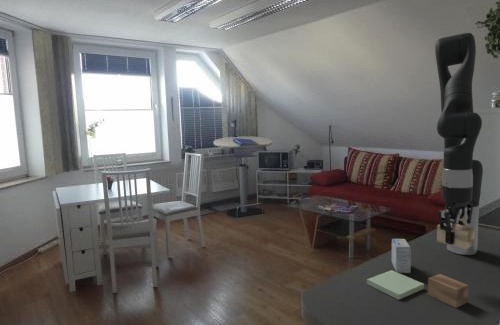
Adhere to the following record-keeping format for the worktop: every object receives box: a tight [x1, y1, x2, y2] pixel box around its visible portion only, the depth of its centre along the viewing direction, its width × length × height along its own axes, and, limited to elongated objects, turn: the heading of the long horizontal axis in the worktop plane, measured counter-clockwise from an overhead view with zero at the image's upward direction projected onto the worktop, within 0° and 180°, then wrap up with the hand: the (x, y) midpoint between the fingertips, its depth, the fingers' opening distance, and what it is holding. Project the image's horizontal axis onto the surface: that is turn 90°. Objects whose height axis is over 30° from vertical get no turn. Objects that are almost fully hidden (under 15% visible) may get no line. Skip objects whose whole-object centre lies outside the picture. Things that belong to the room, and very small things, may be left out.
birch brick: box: [436, 223, 475, 249], centre depth 102 cm, size 5×8×5 cm, turn 35°
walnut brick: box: [427, 273, 469, 309], centre depth 95 cm, size 5×8×5 cm, turn 28°
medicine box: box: [390, 238, 412, 274], centre depth 115 cm, size 8×4×9 cm, turn 168°
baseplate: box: [366, 269, 425, 300], centre depth 103 cm, size 11×11×2 cm
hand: (455, 241), depth 102 cm, fingers closed on birch brick, 5 cm apart
